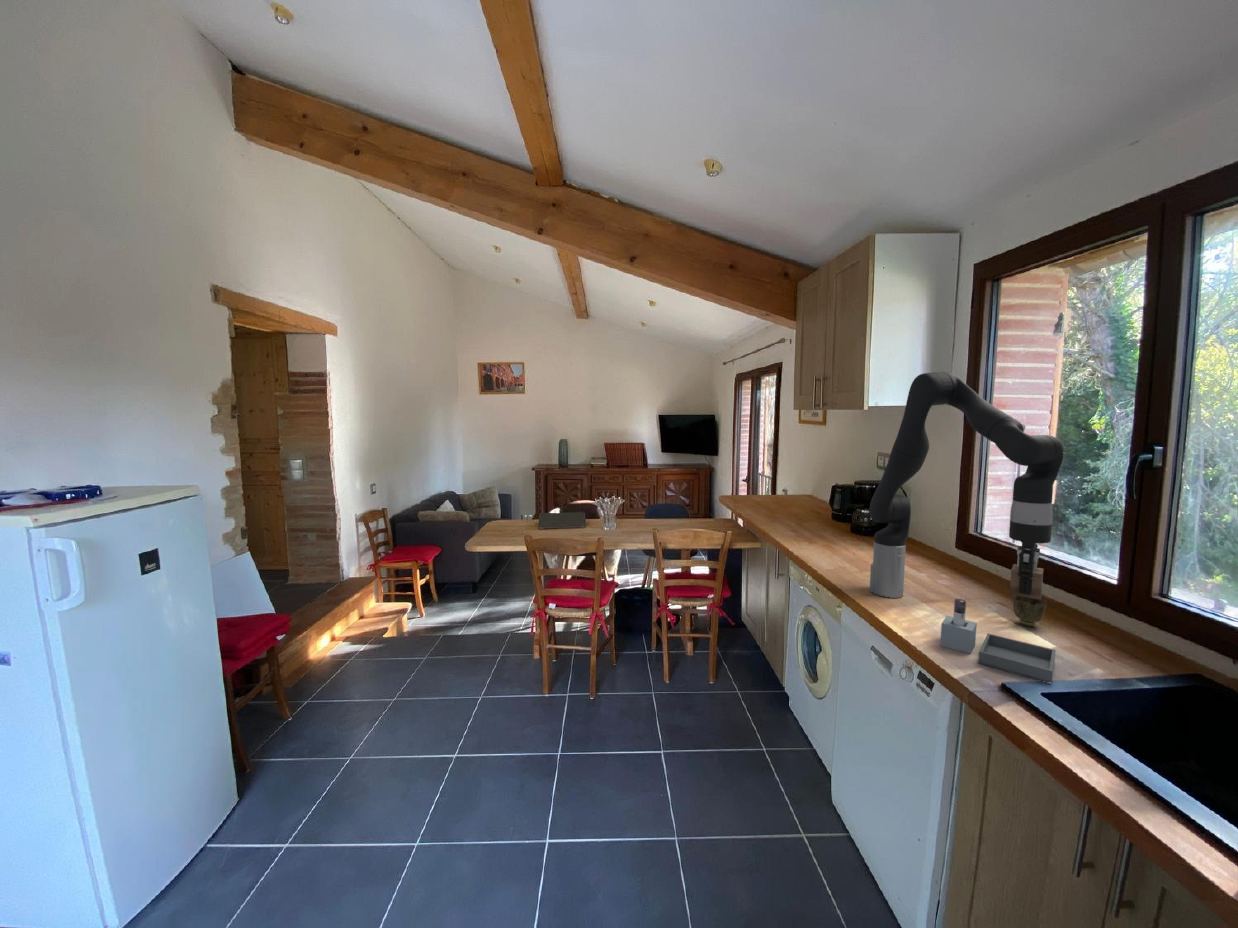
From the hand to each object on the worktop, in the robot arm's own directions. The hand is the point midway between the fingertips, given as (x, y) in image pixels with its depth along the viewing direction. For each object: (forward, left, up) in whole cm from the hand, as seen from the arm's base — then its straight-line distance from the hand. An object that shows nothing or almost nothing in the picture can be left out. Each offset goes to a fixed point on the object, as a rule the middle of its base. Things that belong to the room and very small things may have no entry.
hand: (1025, 590), depth 116 cm
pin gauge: (-13, 0, -18) cm, 22 cm away
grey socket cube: (-13, 0, -18) cm, 22 cm away
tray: (-1, -1, -18) cm, 18 cm away
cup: (-1, +27, -18) cm, 33 cm away
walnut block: (0, 0, -1) cm, 1 cm away
